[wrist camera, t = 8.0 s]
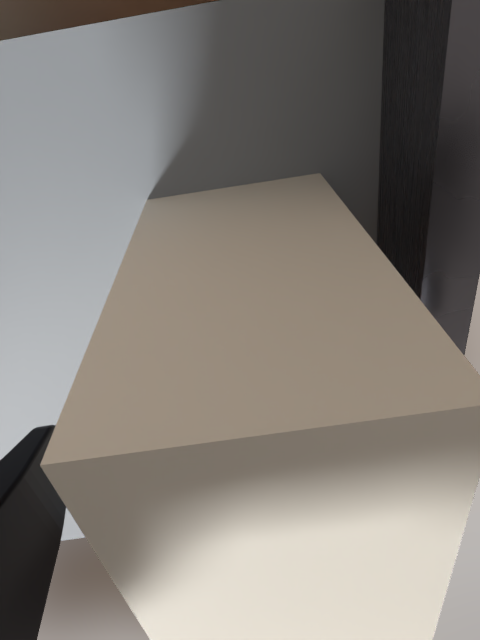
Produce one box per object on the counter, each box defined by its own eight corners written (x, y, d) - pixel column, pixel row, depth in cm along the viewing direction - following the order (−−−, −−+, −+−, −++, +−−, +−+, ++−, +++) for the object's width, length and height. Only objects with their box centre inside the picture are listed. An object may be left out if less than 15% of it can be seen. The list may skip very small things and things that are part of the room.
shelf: (55, 494, 21) (11, 620, 17) (-215, 86, 11) (-513, 122, 7) (381, 447, 20) (429, 565, 16) (408, -28, 10) (559, -77, 6)
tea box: (147, 200, 11) (40, 465, 4) (332, 171, 11) (533, 397, 4) (196, 387, 14) (182, 691, 8) (335, 368, 14) (442, 660, 8)
